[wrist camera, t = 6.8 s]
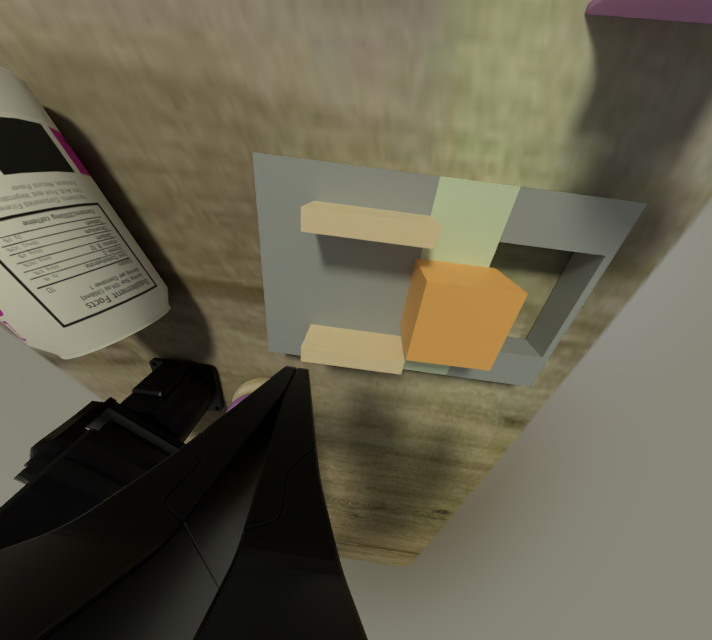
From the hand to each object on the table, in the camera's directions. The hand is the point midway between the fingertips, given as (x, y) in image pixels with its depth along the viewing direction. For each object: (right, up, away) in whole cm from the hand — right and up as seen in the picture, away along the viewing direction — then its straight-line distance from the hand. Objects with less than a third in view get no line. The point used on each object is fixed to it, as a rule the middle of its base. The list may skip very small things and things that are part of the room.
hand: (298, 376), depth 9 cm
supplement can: (-20, +14, +3) cm, 25 cm away
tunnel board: (+7, +5, +10) cm, 14 cm away
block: (+8, +3, +8) cm, 12 cm away
